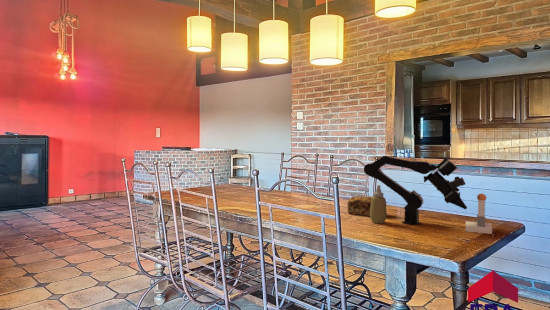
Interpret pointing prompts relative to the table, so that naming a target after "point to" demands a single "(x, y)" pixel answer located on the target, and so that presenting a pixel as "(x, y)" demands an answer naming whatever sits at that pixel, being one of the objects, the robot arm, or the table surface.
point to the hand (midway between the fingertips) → (466, 208)
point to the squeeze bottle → (378, 207)
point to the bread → (359, 205)
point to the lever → (481, 205)
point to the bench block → (479, 226)
